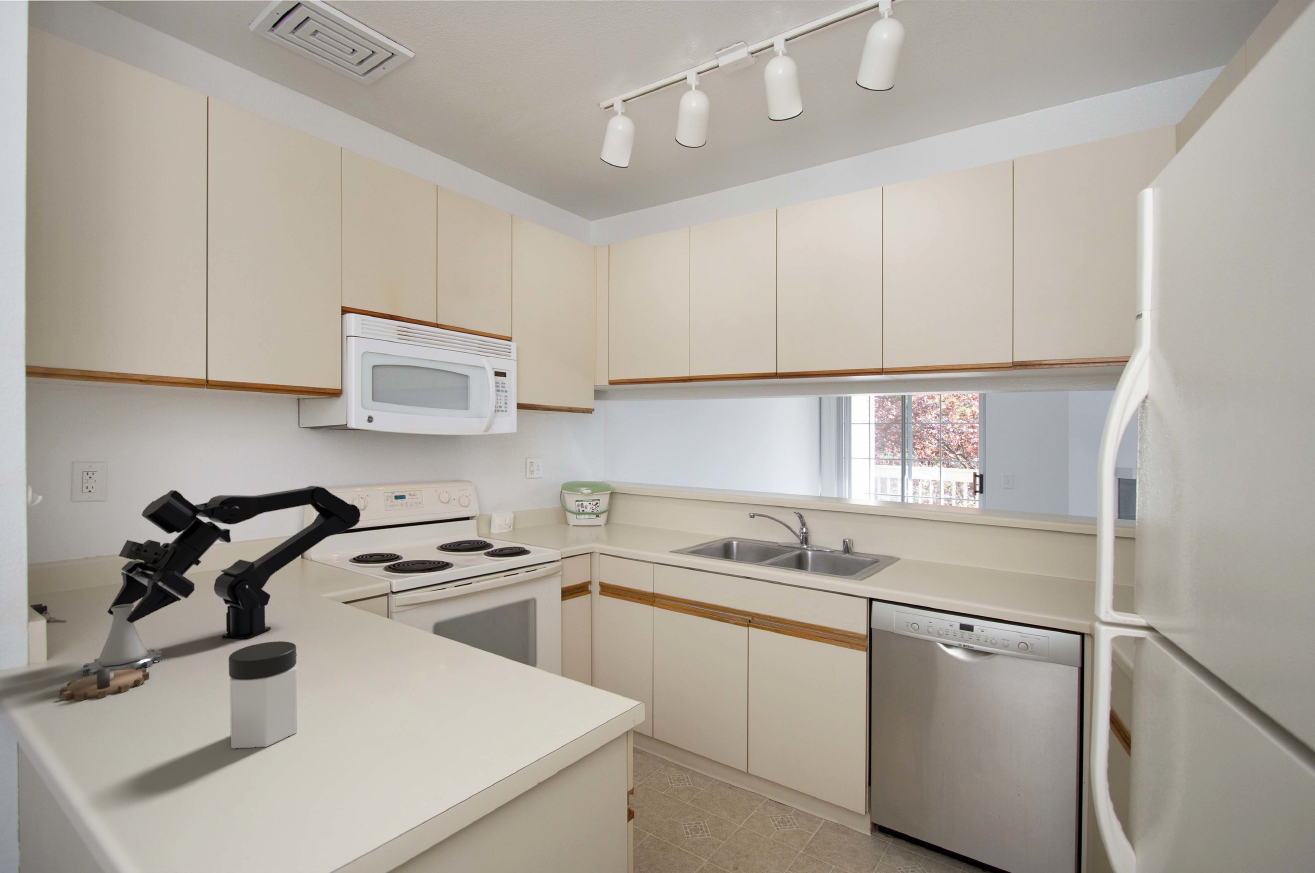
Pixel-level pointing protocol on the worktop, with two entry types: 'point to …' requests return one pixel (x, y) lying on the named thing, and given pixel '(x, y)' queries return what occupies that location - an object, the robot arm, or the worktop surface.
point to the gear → (144, 662)
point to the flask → (122, 640)
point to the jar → (263, 694)
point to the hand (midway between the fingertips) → (119, 617)
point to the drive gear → (104, 683)
